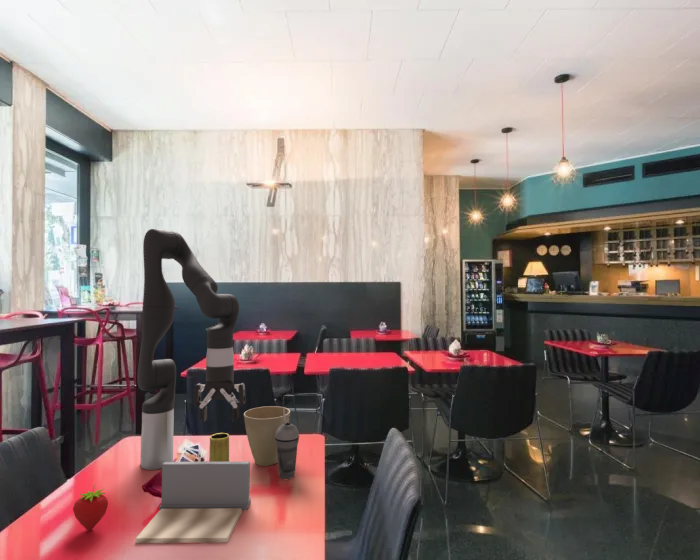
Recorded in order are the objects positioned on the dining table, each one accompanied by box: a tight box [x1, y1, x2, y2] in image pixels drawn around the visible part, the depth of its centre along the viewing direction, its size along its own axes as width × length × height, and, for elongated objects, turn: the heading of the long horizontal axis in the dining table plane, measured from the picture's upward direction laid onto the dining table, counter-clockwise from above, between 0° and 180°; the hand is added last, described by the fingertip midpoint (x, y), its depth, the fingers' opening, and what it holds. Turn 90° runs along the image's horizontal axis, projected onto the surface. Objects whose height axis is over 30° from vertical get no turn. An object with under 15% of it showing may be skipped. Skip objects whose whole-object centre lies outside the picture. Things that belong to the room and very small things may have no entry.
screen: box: [158, 461, 252, 512], centre depth 102 cm, size 22×4×11 cm, turn 91°
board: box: [135, 508, 242, 544], centre depth 93 cm, size 20×12×1 cm, turn 91°
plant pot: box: [243, 405, 291, 467], centre depth 130 cm, size 15×15×16 cm
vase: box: [208, 432, 230, 462], centre depth 112 cm, size 6×6×14 cm
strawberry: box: [72, 484, 109, 531], centre depth 92 cm, size 6×8×10 cm
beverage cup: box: [275, 409, 300, 480], centre depth 119 cm, size 7×7×20 cm
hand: (219, 420), depth 113 cm, fingers open, 8 cm apart
